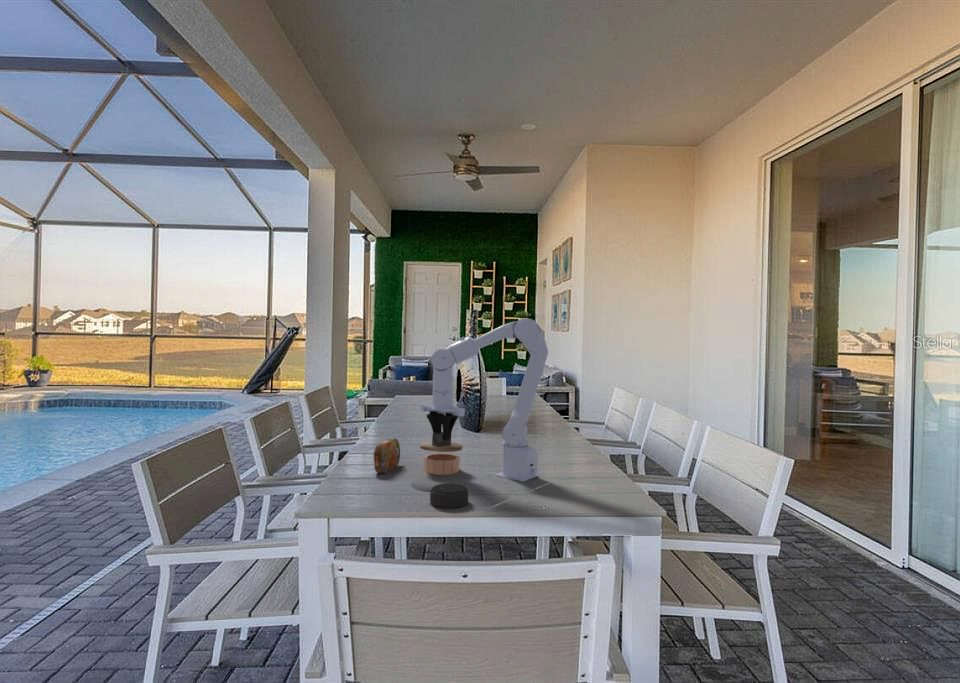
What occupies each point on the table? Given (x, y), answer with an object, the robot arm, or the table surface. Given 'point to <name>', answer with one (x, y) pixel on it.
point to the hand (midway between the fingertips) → (442, 438)
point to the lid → (440, 444)
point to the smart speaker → (449, 496)
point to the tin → (386, 455)
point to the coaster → (433, 483)
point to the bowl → (441, 464)
